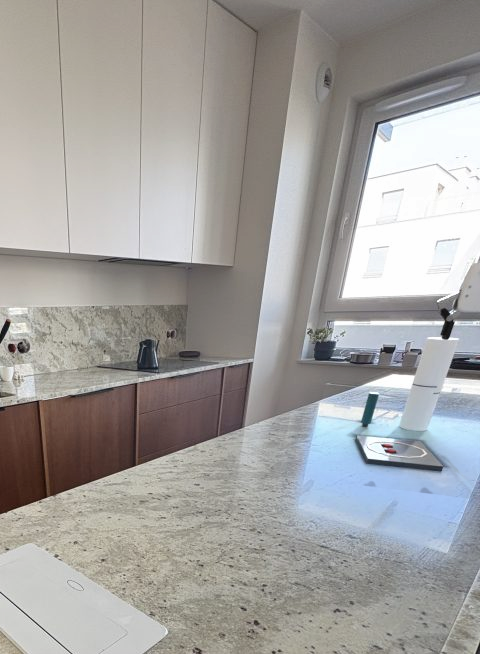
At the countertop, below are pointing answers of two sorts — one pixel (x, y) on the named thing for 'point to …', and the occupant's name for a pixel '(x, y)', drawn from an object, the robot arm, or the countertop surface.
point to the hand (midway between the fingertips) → (469, 339)
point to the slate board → (397, 453)
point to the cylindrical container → (428, 383)
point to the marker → (369, 408)
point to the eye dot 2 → (390, 451)
